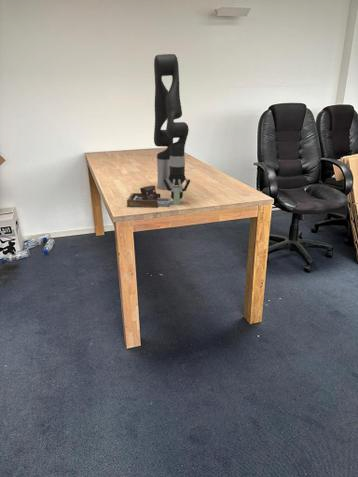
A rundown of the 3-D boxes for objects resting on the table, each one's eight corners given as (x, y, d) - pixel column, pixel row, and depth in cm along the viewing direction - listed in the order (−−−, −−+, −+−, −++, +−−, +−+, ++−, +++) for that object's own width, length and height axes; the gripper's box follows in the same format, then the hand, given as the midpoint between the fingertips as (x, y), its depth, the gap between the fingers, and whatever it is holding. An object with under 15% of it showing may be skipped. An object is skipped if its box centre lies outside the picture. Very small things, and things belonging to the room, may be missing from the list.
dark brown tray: (132, 199, 192) (131, 193, 191) (160, 199, 191) (160, 193, 190) (127, 207, 180) (126, 200, 178) (157, 207, 179) (157, 200, 177)
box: (147, 202, 181) (144, 188, 179) (142, 201, 186) (139, 188, 184) (158, 199, 183) (155, 185, 181) (153, 199, 188) (150, 185, 186)
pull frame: (135, 200, 190) (135, 183, 187) (180, 201, 188) (180, 184, 185) (132, 205, 181) (131, 188, 178) (179, 206, 180) (179, 189, 176)
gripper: (191, 163, 180) (191, 197, 186) (163, 163, 181) (164, 196, 187) (191, 166, 173) (190, 201, 180) (162, 166, 174) (162, 200, 180)
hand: (176, 198), depth 183 cm, fingers closed on pull frame, 3 cm apart
